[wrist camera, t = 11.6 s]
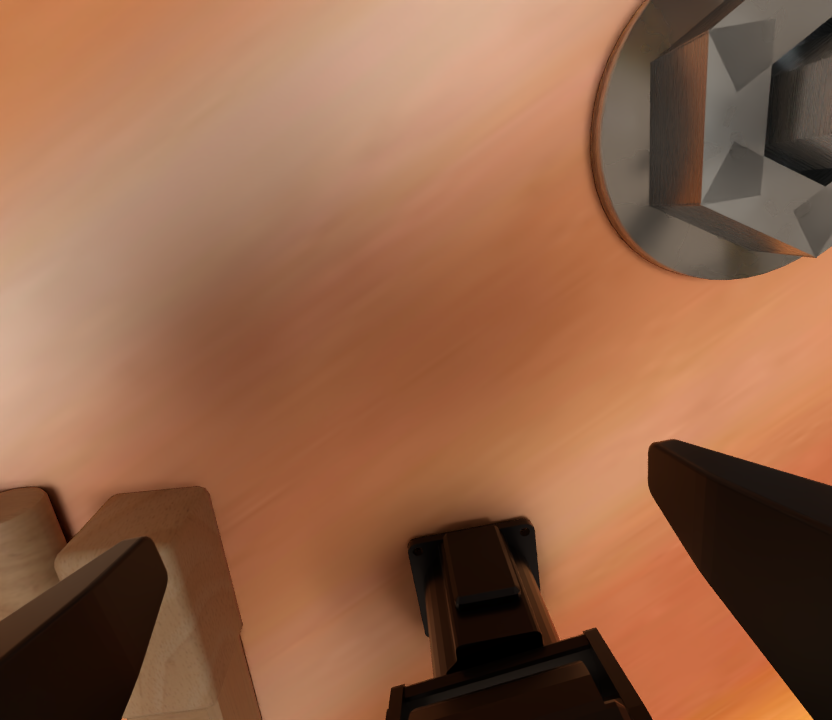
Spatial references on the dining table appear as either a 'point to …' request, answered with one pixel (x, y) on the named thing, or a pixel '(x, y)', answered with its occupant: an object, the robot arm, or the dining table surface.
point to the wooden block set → (182, 603)
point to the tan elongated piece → (801, 107)
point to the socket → (706, 139)
